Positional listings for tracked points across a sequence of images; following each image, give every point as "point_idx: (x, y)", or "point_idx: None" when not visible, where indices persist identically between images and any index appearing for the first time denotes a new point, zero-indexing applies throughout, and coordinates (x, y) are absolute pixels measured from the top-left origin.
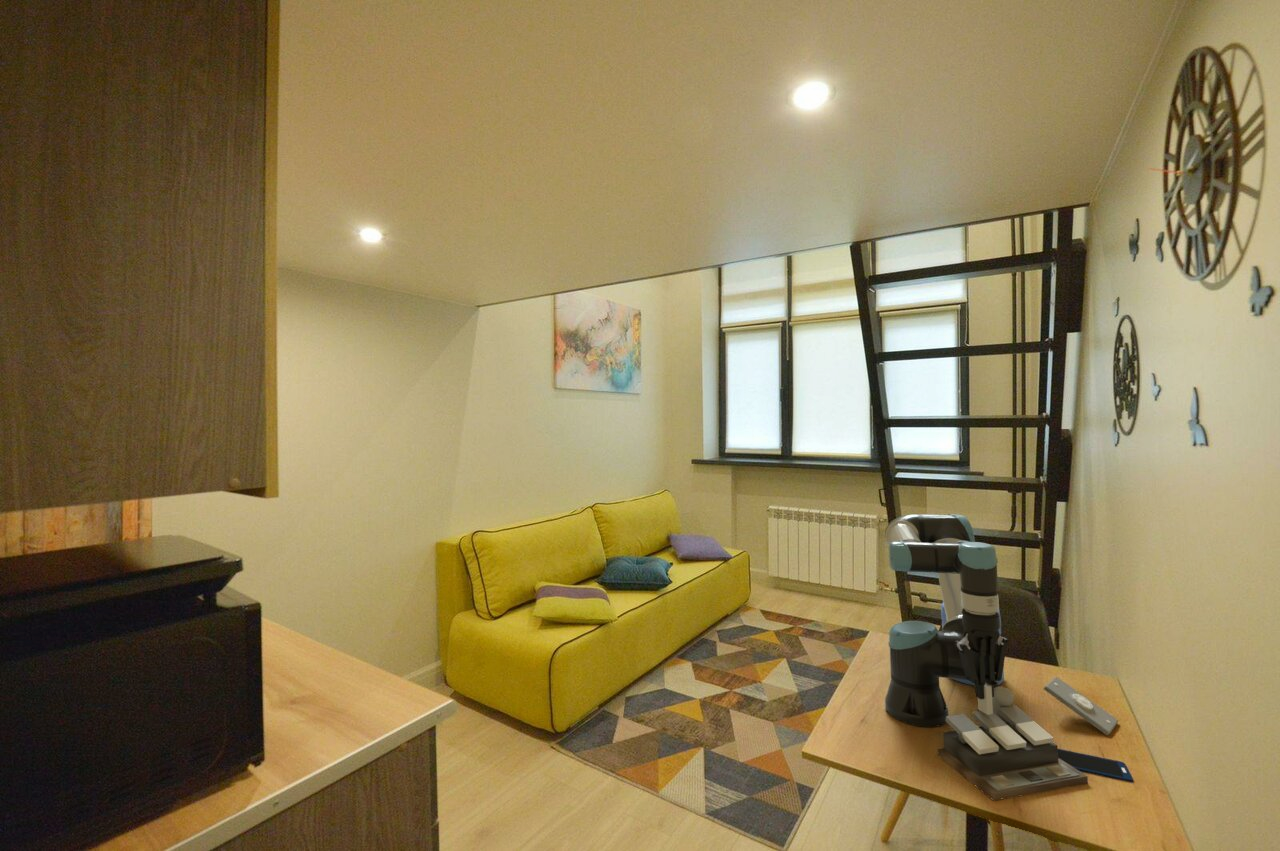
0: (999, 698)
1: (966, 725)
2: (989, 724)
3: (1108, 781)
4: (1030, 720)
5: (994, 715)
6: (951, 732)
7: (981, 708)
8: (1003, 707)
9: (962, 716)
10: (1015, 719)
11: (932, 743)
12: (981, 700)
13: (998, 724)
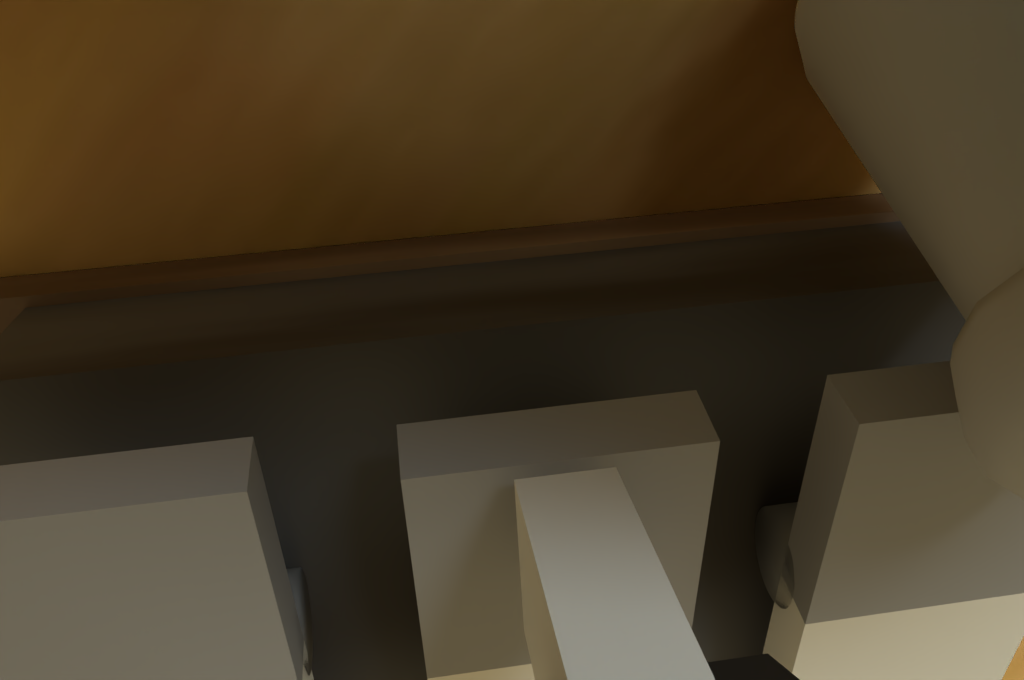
0: (990, 463)
1: (144, 655)
2: (473, 641)
3: (1020, 675)
4: (1019, 583)
5: (673, 529)
6: (65, 402)
7: (525, 565)
8: (944, 414)
9: (181, 538)
10: (870, 575)
11: (25, 61)
12: (549, 668)
13: None
